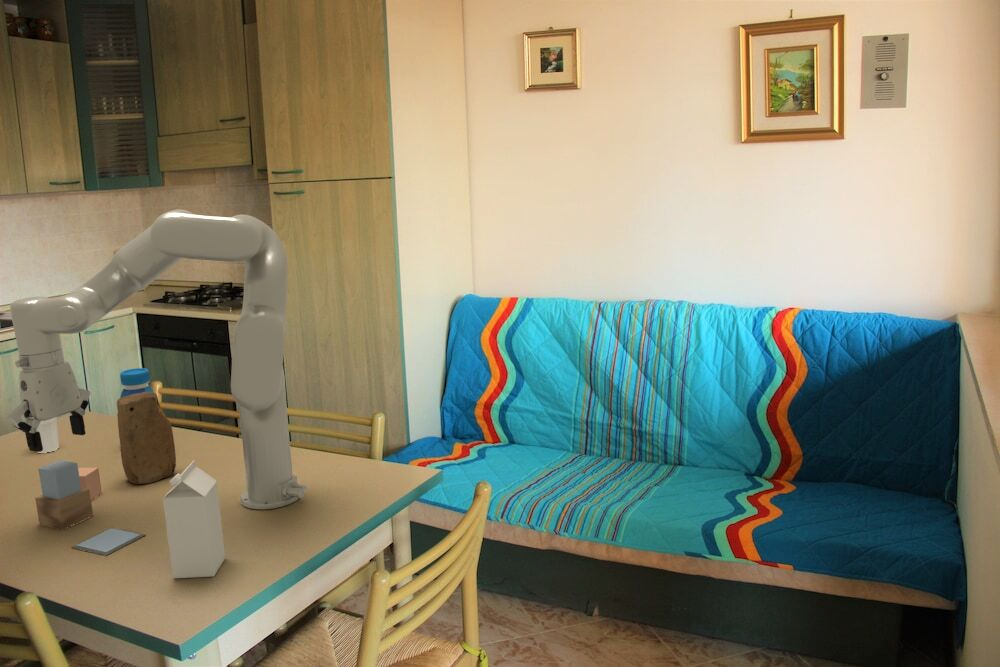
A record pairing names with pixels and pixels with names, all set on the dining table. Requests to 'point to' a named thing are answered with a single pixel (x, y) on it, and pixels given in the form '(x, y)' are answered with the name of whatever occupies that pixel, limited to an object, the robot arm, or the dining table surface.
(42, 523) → the walnut block
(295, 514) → the dining table surface
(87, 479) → the terracotta block
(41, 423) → the cup
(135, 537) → the swatch
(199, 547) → the milk carton
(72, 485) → the slate block
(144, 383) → the beverage bottle
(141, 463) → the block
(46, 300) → the robot arm
